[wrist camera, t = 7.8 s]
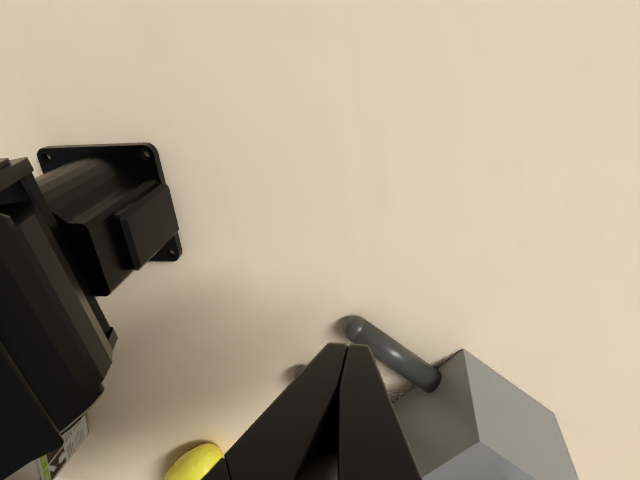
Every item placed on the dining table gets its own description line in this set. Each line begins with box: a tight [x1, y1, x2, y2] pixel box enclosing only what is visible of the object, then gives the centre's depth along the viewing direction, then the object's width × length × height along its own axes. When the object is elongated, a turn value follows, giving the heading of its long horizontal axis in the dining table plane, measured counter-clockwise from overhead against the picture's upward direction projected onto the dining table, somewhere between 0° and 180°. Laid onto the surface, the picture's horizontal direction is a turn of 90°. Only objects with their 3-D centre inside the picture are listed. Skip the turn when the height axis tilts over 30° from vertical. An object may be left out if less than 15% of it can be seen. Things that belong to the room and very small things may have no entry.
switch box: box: [294, 316, 579, 480], centre depth 24 cm, size 13×10×8 cm
